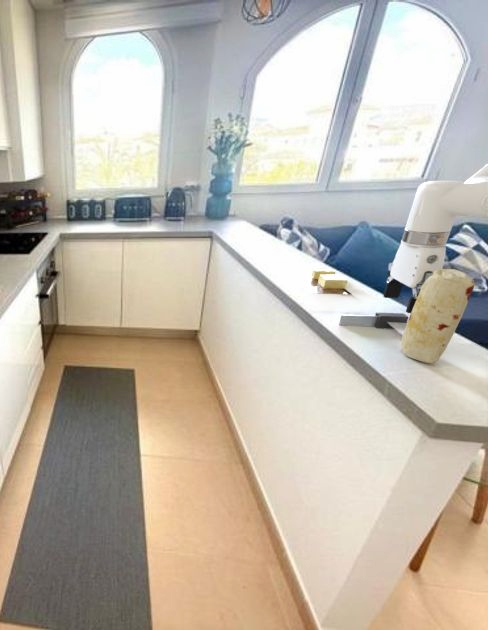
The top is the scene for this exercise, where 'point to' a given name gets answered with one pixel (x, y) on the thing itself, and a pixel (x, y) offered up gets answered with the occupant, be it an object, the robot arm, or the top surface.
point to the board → (316, 286)
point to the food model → (436, 314)
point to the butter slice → (322, 272)
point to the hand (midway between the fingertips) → (401, 304)
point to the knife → (374, 320)
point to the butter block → (332, 281)
